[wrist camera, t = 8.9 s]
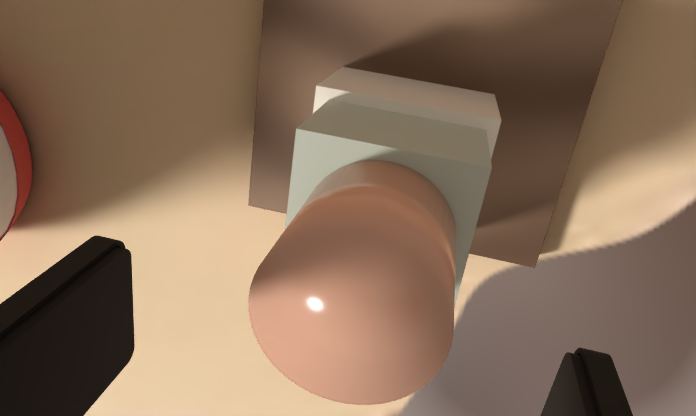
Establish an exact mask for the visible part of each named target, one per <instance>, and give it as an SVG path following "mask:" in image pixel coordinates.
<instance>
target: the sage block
mask: <svg viewBox="0 0 696 416" xmlns="http://www.w3.org/2000/svg"><path fill="white" fill-rule="evenodd" d="M367 160H382V161H390V162H394V163H398V164H402V165H404V166H406V167H409V168H411V169H413V170H415V171H417V172H419V173H420V174H422V175H423V176H425V177H426V178H427V179H429V180H430V181H431V182H432V183H433V184H434V185H435V186H436V187H437V188H438V189H439V190H440V192H441V193H442V194H443V195H444V197H445V199H446V200H447V202H448V204H449V206H450V208H451V210H452V213H453V216H454V220H455V224H456V232H457V233H456V266H455V298H454V307H455V303H456V299H457V295H458V292H459V288H460V284H461V281H462V277H463V273H464V269H465V266H466V262H467V258H468V255H469V251H470V247H471V243H472V240H473V236H474V232H475V229H476V225H477V221H478V218H479V214H480V210H481V206H482V203H483V199H484V195H485V192H486V188H487V184H488V180H489V177H490V173H491V169H492V165H491V158H490V151H489V145H488V138H487V131H486V130H485V129H480V128H474V127H469V126H464V125H459V124H454V123H448V122H443V121H438V120H433V119H428V118H422V117H417V116H412V115H407V114H402V113H396V112H391V111H386V110H381V109H375V108H370V107H365V106H360V105H355V104H349V103H344V102H339V101H334V100H328V101H327V102H326V103H324V104H323V105H322V106H321V107H320V108H319V109H318V110H317V111H315V112H314V113H313V114H312V115H311V116H310V117H309V118H308V119H306V120H305V121H304V122H303V123H302V124H301V125H300V126H299V127H297V128H296V135H295V144H294V153H293V162H292V171H291V180H290V189H289V198H288V207H287V216H286V225H285V229H286V228H287V227H288V225H289V224H290V222H291V221H292V220H293V218H294V217H295V215H296V214H297V213H298V211H299V210H300V209H301V207H302V206H303V204H304V203H305V202H306V200H307V199H308V197H309V196H310V195H311V193H312V192H313V190H314V189H315V188H316V186H317V185H318V184H319V183H320V182H321V181H322V180H323V179H324V178H325V177H326V176H328V175H329V174H330V173H332V172H333V171H335V170H337V169H339V168H340V167H343V166H345V165H348V164H351V163H355V162H359V161H367Z"/></svg>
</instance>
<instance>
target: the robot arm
mask: <svg viewBox="0 0 696 416" xmlns="http://www.w3.org/2000/svg"><path fill="white" fill-rule="evenodd" d="M133 351H134V321H133V293H132V265H131V253H130V251H129V250H128V249H125V245H124V243H123V242H121V241H119V240H114V239H110V238H106V237H102V236H94V237H92V238H90V239H89V240H87V241H86V242H85V243H83V244H82V245H81V246H79V247H78V248H76V249H75V250H74V251H72V252H71V253H70V254H68V255H67V256H65V257H64V258H63V259H61V260H60V261H59V262H57V263H56V264H54V265H53V266H52V267H50V268H49V269H48V270H46V271H45V272H43V273H42V274H41V275H39V276H38V277H37V278H35V279H34V280H32V281H31V282H30V283H28V284H27V285H26V286H24V287H23V288H22V289H20V290H19V291H17V292H16V293H15V294H13V295H12V296H11V297H9V298H8V299H6V300H5V301H4V302H2V303H1V304H0V416H83V415H84V414H85V413H86V412H87V411H88V410H89V408H90V407H91V406H92V405H93V404H94V402H95V401H96V400H97V399H98V398H99V397H100V395H101V394H102V393H103V392H104V391H105V390H106V388H107V387H108V386H109V385H110V384H111V382H112V381H113V380H114V379H115V378H116V377H117V375H118V374H119V373H120V372H121V371H122V369H123V368H124V367H125V366H126V365H127V364H128V362H129V361H130V359H131V357H132V354H133ZM541 416H633V415H632V412H631V409H630V406H629V404H628V401H627V398H626V396H625V393H624V390H623V387H622V385H621V382H620V379H619V377H618V374H617V371H616V368H615V366H614V363H613V360H612V358H611V356H610V355H608V354H605V353H601V352H596V351H592V350H587V349H583V348H578V349H577V350H576V351H575V353H574V354H573V353H566V354H565V356H564V358H563V360H562V363H561V365H560V368H559V370H558V373H557V375H556V378H555V381H554V383H553V386H552V388H551V391H550V393H549V396H548V398H547V401H546V403H545V406H544V408H543V411H542V413H541Z"/></svg>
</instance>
